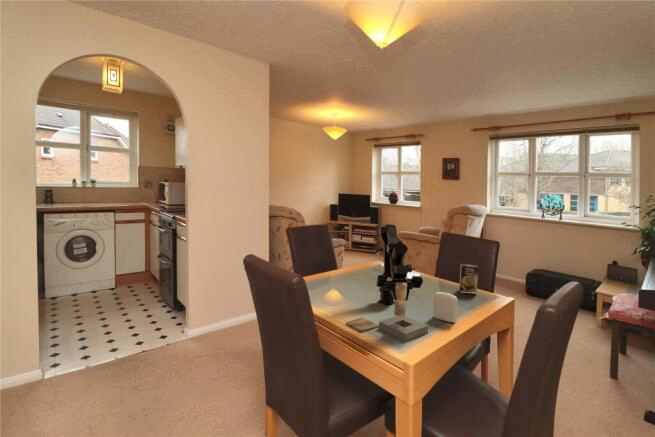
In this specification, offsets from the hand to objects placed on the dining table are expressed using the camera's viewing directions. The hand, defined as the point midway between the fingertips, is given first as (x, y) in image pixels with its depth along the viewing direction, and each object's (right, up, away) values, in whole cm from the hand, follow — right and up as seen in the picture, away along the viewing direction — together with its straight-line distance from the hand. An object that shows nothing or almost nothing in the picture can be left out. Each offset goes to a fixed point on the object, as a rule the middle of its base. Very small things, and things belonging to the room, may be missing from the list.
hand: (401, 300), depth 136 cm
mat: (-15, -12, +6) cm, 21 cm away
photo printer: (+23, -13, +16) cm, 31 cm away
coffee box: (+51, -10, +57) cm, 77 cm away
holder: (+1, -13, +3) cm, 14 cm away
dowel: (0, -6, +2) cm, 7 cm away
